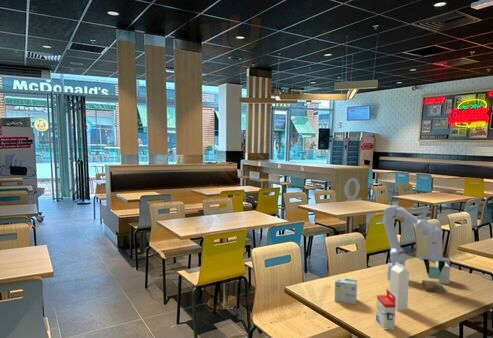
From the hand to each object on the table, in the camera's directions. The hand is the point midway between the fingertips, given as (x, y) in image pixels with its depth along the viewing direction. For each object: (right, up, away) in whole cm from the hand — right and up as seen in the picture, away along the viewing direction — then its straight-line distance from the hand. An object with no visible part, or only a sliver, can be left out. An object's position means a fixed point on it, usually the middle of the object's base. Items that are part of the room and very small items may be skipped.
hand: (433, 273), depth 187 cm
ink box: (-42, -12, -36) cm, 57 cm away
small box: (+11, -8, +11) cm, 18 cm away
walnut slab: (0, -9, +1) cm, 9 cm away
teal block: (0, -2, 0) cm, 2 cm away
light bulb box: (-53, -10, -13) cm, 55 cm away
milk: (-29, -11, -20) cm, 37 cm away
